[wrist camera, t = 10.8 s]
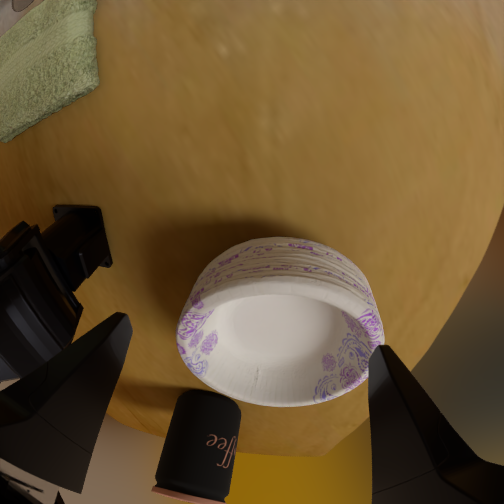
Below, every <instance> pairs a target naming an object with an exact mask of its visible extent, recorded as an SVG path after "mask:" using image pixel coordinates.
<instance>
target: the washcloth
mask: <svg viewBox="0 0 504 504" xmlns="http://www.w3.org/2000/svg"><path fill="white" fill-rule="evenodd" d="M96 5H97V2H96V0H44V1H43V2H41V4H40V5H38V6H37V7H35V8H33V9H32V10H31V11H29V12H28V13H27V14H26V15H25V16H24V17H23V18H22V19H20V20H19V21H18V22H17V23H16V24H15V25H14V26H13V27H12V28H11V29H10V30H8V31H7V32H6V33H5V34H4V35H2V36H1V37H0V141H2V142H4V143H6V142H8V141H10V140H12V138H14V137H15V136H16V135H18V134H20V133H22V132H23V131H25V129H28V127H30V126H33V125H34V124H36V123H38V122H39V121H41V120H42V119H45V118H47V117H48V116H50V115H51V114H52V113H54V112H58V111H59V110H61V109H62V108H63V107H65V106H67V105H69V104H71V102H72V101H73V102H74V101H75V100H76V99H78V98H80V97H82V96H85V95H87V94H88V93H89V92H91V91H93V90H94V89H95V88H96V87H97V86H98V85H99V83H100V81H99V77H98V67H97V60H96V42H97V41H96V38H95V37H94V36H93V31H94V28H93V26H94V22H93V14H94V13H95V10H96Z"/></svg>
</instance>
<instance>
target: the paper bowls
mask: <svg viewBox="0 0 504 504" xmlns="http://www.w3.org/2000/svg"><path fill="white" fill-rule="evenodd" d="M176 342H177V347H178V351H179V353H180V355H181V357H182V359H183V361H184V363H185V364H186V365H187V367H188V368H189V369H190V370H191V371H192V373H193V374H194V375H196V376H197V377H198V378H199V379H200V380H201V381H203V382H204V383H205V384H207V385H208V386H210V387H211V388H213V389H215V390H217V391H218V392H221V393H223V394H225V395H227V396H230V397H232V398H235V399H238V400H241V401H245V402H248V403H253V404H257V405H264V406H274V407H295V406H305V405H311V404H316V403H320V402H324V401H328V400H331V399H334V398H336V397H339V396H341V395H343V394H345V393H347V392H349V391H351V390H352V389H354V388H355V387H357V386H358V385H360V384H361V383H362V382H363V381H364V380H366V378H368V361H369V358H370V356H371V355H372V353H373V351H374V350H375V348H376V347H377V346H378V345H384V330H383V325H382V322H381V319H380V315H379V312H378V309H377V306H376V303H375V300H374V297H373V294H372V291H371V288H370V286H369V284H368V281H367V279H366V277H365V276H364V274H363V273H362V272H361V271H360V270H359V268H358V267H357V266H356V265H355V264H354V263H353V262H352V261H351V260H349V259H348V258H347V257H345V256H344V255H342V254H341V253H339V252H338V251H336V250H335V249H333V248H330V247H328V246H326V245H323V244H320V243H317V242H314V241H310V240H306V239H299V238H293V237H269V238H259V239H252V240H249V241H246V242H244V243H241V244H238V245H235V246H233V247H231V248H229V249H228V250H226V251H224V252H223V253H222V254H220V255H219V256H218V257H216V258H215V259H214V260H212V261H211V262H210V263H209V264H208V265H207V267H206V268H205V269H204V270H203V272H202V273H201V274H200V276H199V277H198V280H197V281H196V283H195V285H194V287H193V289H192V291H191V293H190V296H189V298H188V299H187V301H186V303H185V306H184V308H183V310H182V313H181V315H180V318H179V321H178V323H177V327H176Z"/></svg>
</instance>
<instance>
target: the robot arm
mask: <svg viewBox="0 0 504 504" xmlns="http://www.w3.org/2000/svg"><path fill="white" fill-rule="evenodd" d="M95 211H96V212H97V213H96V212H95ZM53 214H54V218H55V221H56V222H54V223H53V224H52V225H51V226H49V227H48V228H47V229H46V230H45V231H43V232H42V233H40V231H39V230H40V229H39V227H38V224H36V225H33V226H31V227H30V225H28V224H27V223H26V222H24V221H22V222H20V223H19V224H17V225H16V226H15V227H14V228H12V229H11V230H10V231H9V232H8V233H7V234H6V235H5V236H4V237H3V238H2V239H1V240H0V383H1V382H3V381H8V380H14V379H19V378H20V380H18V381H17V382H15V383H13V384H12V385H10V386H8V387H7V388H5V389H3V390H2V391H0V504H65V503H64V501H63V499H62V497H61V495H60V493H59V491H58V489H59V487H62V488H65V489H68V490H70V491H73V492H76V493H79V494H81V492H82V489H83V485H84V481H85V477H86V474H87V470H88V466H89V463H90V460H91V456H92V453H93V449H94V446H95V443H96V440H97V437H98V433H99V431H100V428H101V425H102V422H103V419H104V416H105V413H106V410H107V408H108V405H109V402H110V399H111V397H112V394H113V391H114V389H115V386H116V383H117V381H118V378H119V376H120V373H121V370H122V368H123V364H124V361H125V357H126V354H127V350H128V347H129V343H130V340H131V337H132V332H133V330H132V326H131V323H130V320H129V317H128V315H127V314H126V313H121V312H116V313H114V314H113V315H111V316H110V317H108V318H107V319H106V320H104V321H103V322H101V323H100V324H98V325H97V326H96V327H94V328H93V329H91V330H90V331H88V332H87V333H86V334H84V335H83V336H81V337H80V338H79V339H77V340H76V341H74V342H73V343H72V340H73V338H74V335H75V332H76V329H77V326H78V323H79V320H80V317H81V314H82V311H83V309H84V308H83V306H82V305H81V303H79V302H78V300H77V298H76V297H75V295H74V294H73V292H75V291H76V290H77V289H78V287H79V286H80V285H81V284H82V283H83V281H84V280H85V279H86V278H87V279H88V278H89V277H90V276H91V275H92V274H93V272H94V271H95V270H96V269H97V268H98V266H101V267H106V268H110V267H111V266H112V264H113V262H112V258H111V254H110V250H109V245H108V241H107V237H106V232H105V227H104V222H103V217H102V212H101V209H100V208H99V207H96V206H73V205H56V206H54V207H53ZM72 291H73V292H72ZM71 343H72V344H71ZM368 402H369V414H370V427H371V445H372V504H504V466H502V465H498V464H495V463H490V462H487V461H485V460H483V459H481V458H480V457H478V456H477V455H476V454H475V453H474V451H473V450H472V449H471V448H470V447H469V446H468V445H467V444H466V442H465V441H464V440H463V439H462V438H461V437H460V436H459V434H458V433H457V432H456V431H455V430H454V428H453V427H452V426H451V425H450V423H449V422H448V421H447V419H446V418H445V417H444V415H443V414H442V413H440V410H439V409H438V407H437V406H436V405H435V403H434V402H433V401H432V399H431V398H430V397H429V396H428V394H427V393H426V391H425V390H424V389H423V388H422V387H421V385H420V384H419V383H418V381H417V380H416V379H415V377H414V376H413V375H412V373H411V372H410V371H409V370H408V368H407V367H406V366H405V365H404V363H403V362H402V361H401V360H400V358H399V357H398V356H397V355H396V353H395V352H394V351H393V350H392V349H391V347H390V346H389V345H378V346H377V347H376V348H375V350H374V351H373V353H372V355H371V356H370V358H369V361H368Z"/></svg>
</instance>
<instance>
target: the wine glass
mask: <svg viewBox="0 0 504 504" xmlns="http://www.w3.org/2000/svg"><path fill="white" fill-rule="evenodd" d="M33 1H34V0H12V9H13V10H14V11H15V12H19V11H22V10H24V9H25V8H26V7H28V6H29V5H30V4H31V3H32V2H33Z"/></svg>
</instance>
